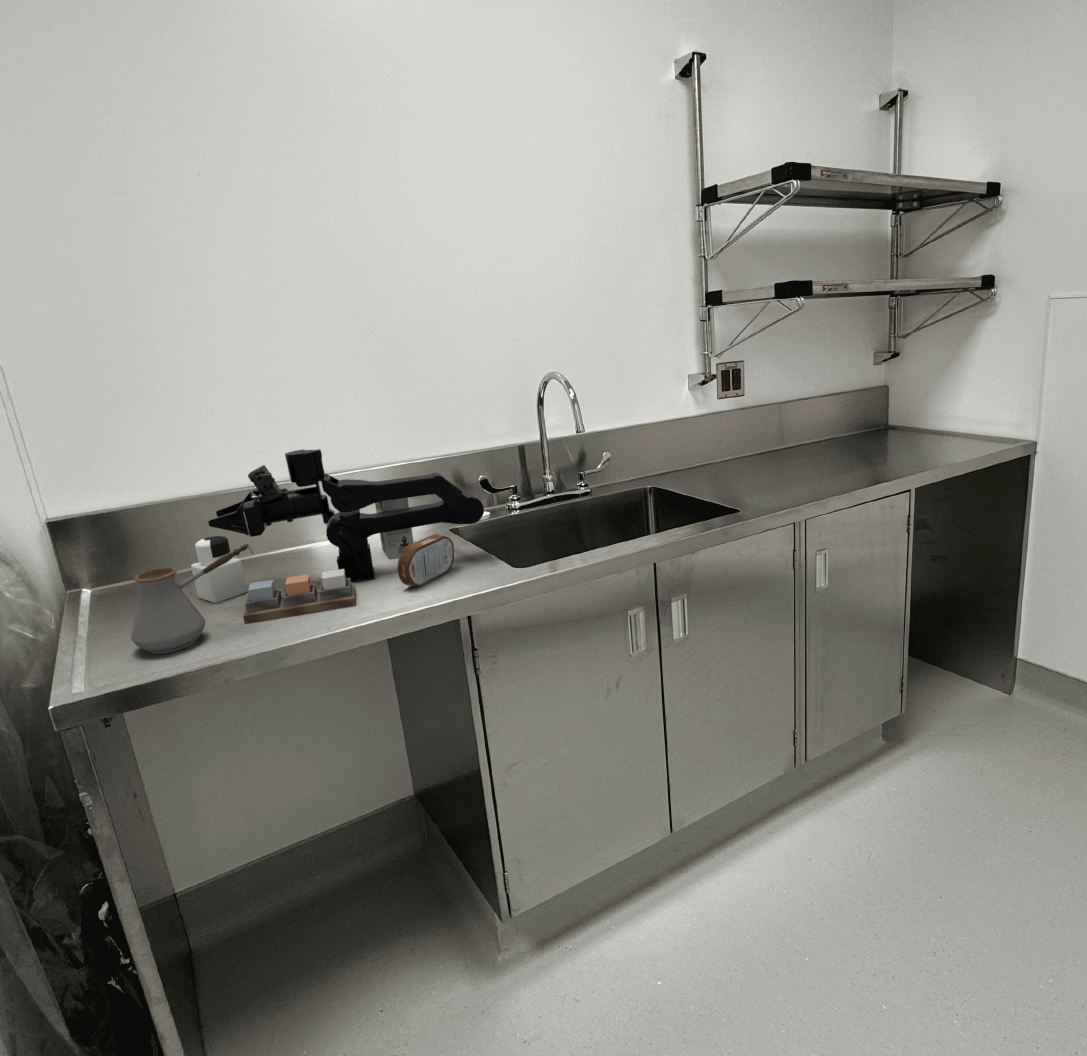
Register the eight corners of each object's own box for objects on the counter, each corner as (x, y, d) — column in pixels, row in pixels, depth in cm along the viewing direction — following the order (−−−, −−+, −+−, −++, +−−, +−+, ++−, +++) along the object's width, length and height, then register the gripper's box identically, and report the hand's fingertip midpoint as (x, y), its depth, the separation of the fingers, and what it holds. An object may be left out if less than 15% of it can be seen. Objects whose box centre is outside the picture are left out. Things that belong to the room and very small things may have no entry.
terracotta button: (311, 589, 140) (309, 574, 139) (310, 596, 136) (307, 580, 135) (289, 592, 139) (287, 577, 138) (288, 599, 135) (285, 584, 134)
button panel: (355, 590, 144) (352, 575, 143) (355, 605, 136) (352, 588, 135) (250, 607, 140) (247, 591, 139) (244, 623, 132) (241, 606, 131)
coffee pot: (132, 665, 119) (109, 578, 114) (137, 640, 129) (116, 559, 125) (270, 633, 127) (254, 550, 123) (265, 612, 137) (249, 535, 133)
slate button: (276, 594, 138) (273, 579, 138) (274, 601, 135) (271, 586, 134) (253, 598, 138) (250, 583, 137) (251, 605, 134) (247, 590, 133)
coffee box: (381, 549, 171) (371, 482, 166) (408, 544, 173) (398, 477, 169) (388, 559, 162) (377, 489, 158) (416, 554, 165) (407, 484, 160)
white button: (346, 583, 141) (344, 568, 140) (346, 590, 137) (344, 575, 137) (325, 586, 140) (322, 572, 139) (324, 593, 137) (321, 578, 136)
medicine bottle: (230, 586, 154) (219, 531, 150) (248, 592, 149) (236, 535, 146) (197, 597, 148) (184, 541, 145) (214, 604, 144) (202, 545, 141)
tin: (447, 567, 154) (442, 528, 152) (459, 568, 152) (454, 529, 150) (399, 591, 142) (393, 550, 140) (411, 593, 140) (405, 551, 138)
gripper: (290, 458, 152) (210, 471, 149) (283, 471, 135) (193, 485, 131) (301, 510, 155) (223, 523, 152) (296, 529, 138) (208, 545, 134)
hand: (212, 518), depth 142 cm, fingers open, 9 cm apart
